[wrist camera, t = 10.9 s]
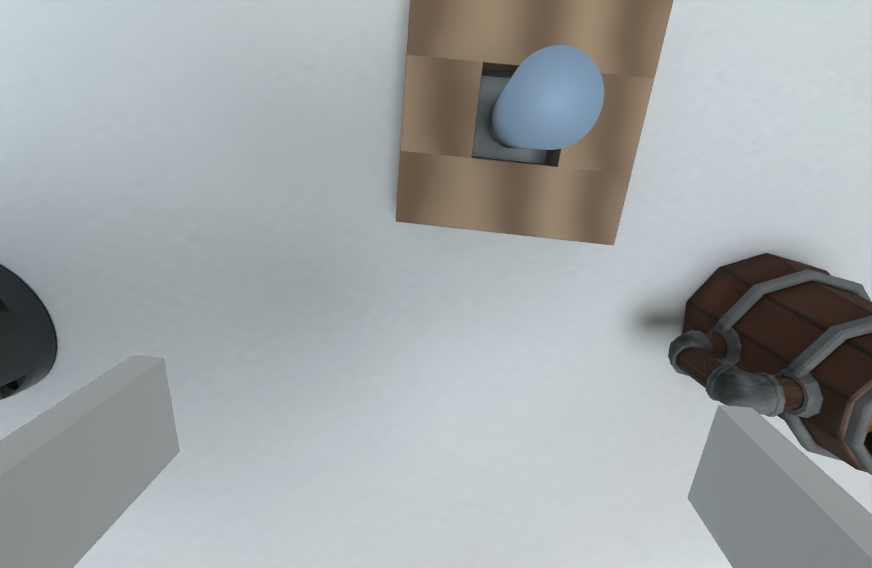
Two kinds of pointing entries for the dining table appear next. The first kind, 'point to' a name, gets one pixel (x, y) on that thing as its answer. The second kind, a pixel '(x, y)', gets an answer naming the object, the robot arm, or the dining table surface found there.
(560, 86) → the peg
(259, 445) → the dining table surface
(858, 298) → the mug
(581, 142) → the socket block
